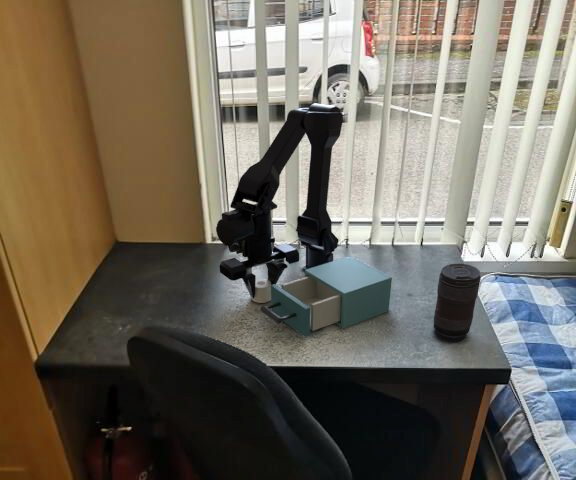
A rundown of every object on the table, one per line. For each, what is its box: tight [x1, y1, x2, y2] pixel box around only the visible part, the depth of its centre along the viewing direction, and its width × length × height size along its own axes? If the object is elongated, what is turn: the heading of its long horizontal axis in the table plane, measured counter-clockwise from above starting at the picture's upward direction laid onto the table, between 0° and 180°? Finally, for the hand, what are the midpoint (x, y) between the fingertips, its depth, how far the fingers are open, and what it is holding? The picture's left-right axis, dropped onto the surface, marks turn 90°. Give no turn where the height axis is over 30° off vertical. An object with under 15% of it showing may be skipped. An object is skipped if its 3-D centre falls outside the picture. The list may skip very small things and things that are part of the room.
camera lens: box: [433, 263, 482, 344], centre depth 119 cm, size 8×8×15 cm
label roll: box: [251, 278, 271, 304], centre depth 137 cm, size 5×5×4 cm
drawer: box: [259, 276, 342, 338], centre depth 126 cm, size 17×13×7 cm
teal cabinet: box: [304, 255, 393, 329], centre depth 132 cm, size 14×15×9 cm
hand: (261, 294), depth 138 cm, fingers closed on label roll, 5 cm apart
